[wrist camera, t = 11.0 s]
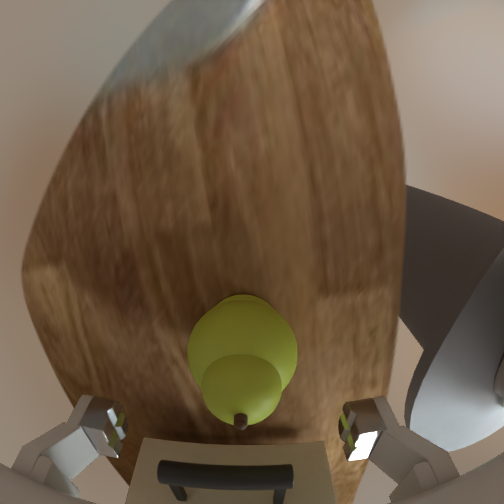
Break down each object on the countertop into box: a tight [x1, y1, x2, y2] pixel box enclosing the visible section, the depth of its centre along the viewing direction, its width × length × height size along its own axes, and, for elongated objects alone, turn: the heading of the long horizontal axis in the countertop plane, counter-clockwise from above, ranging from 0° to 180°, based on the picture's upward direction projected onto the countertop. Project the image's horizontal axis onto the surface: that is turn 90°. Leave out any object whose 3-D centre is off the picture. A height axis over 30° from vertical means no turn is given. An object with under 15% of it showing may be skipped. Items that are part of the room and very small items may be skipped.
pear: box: [187, 295, 298, 430], centre depth 12 cm, size 5×5×7 cm
